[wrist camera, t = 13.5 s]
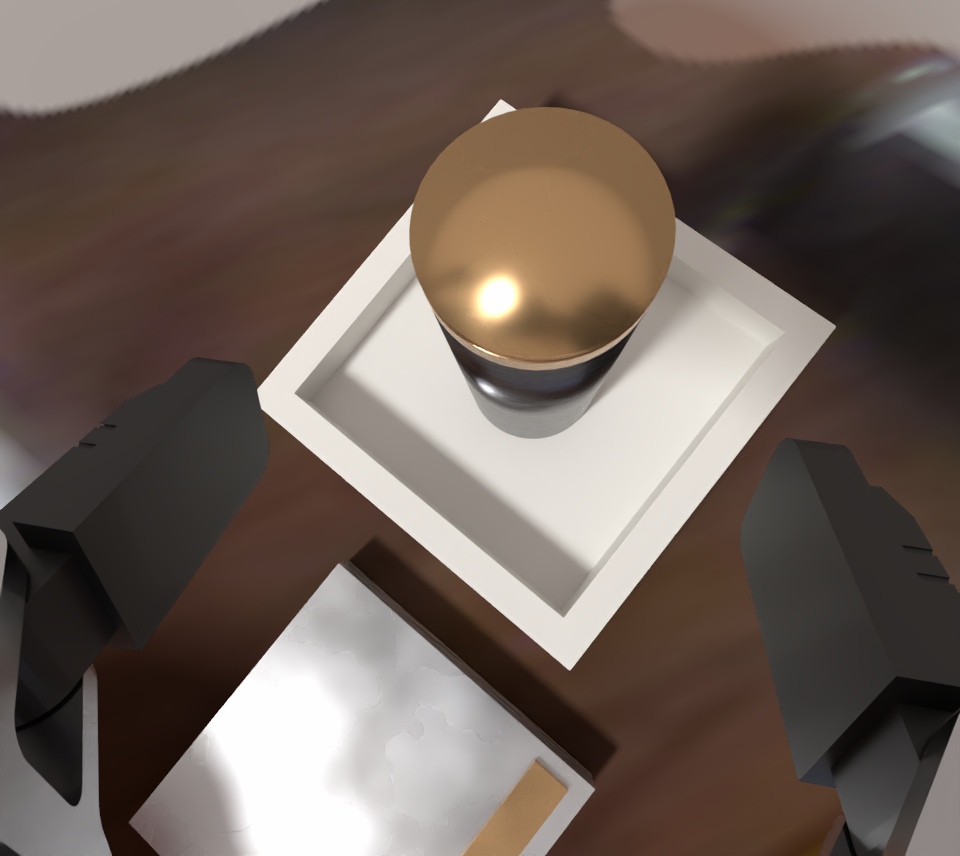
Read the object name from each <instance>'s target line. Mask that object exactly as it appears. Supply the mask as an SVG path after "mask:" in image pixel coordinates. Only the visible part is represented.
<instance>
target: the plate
mask: <svg viewBox="0 0 960 856" xmlns="http://www.w3.org/2000/svg"><path fill="white" fill-rule="evenodd" d="M594 790H595V786H594V782H593V777H592V773H590V772H589V771H588V770H587V769H586V768H585V767H584V766H582V765H581V764H580V763H579V762H578V761H577V760H576V759H575V758H573V757H572V756H571V755H570V754H569V753H568V752H567V751H565V750H564V749H563V748H562V747H561V746H560V745H559V744H557V743H556V742H555V741H554V740H553V739H552V738H551V737H549V736H548V735H547V734H546V733H545V732H544V731H543V730H541V729H540V728H539V727H538V726H537V725H536V724H535V723H534V722H532V721H531V720H530V719H529V718H528V717H527V716H526V715H524V714H523V713H522V712H521V711H520V710H519V709H518V708H516V707H515V706H514V705H513V704H512V703H511V702H510V701H508V700H507V699H506V698H505V697H504V696H503V695H502V694H500V693H499V692H498V691H497V690H496V689H495V688H494V687H493V686H491V685H490V684H489V683H488V682H487V681H486V680H485V679H483V678H482V677H481V676H480V675H479V674H478V673H477V672H475V671H474V670H473V669H472V668H471V667H470V666H469V665H467V664H466V663H465V662H464V661H463V660H462V659H461V658H459V657H458V656H457V655H456V654H455V653H454V652H453V651H451V650H450V649H449V648H448V647H447V646H446V645H445V644H444V643H442V642H441V641H440V640H439V639H438V638H437V637H436V636H434V635H433V634H432V633H431V632H430V631H429V630H428V629H426V628H425V627H424V626H423V625H422V624H421V623H420V622H418V621H417V620H416V619H415V618H414V617H413V616H412V615H410V614H409V613H408V612H407V611H406V610H405V609H404V608H403V607H401V606H400V605H399V604H398V603H397V602H396V601H395V600H393V599H392V598H391V597H390V596H389V595H388V594H387V593H385V592H384V591H383V590H382V589H381V588H380V587H379V586H377V585H376V584H375V583H374V582H373V581H372V580H371V579H369V578H368V577H367V576H366V575H365V574H364V573H363V572H362V571H360V570H359V569H358V568H357V567H356V566H355V565H354V564H352V563H351V562H350V561H349V560H348V561H344V562H341V563H339V564H338V565H337V566H336V567H335V568H334V570H333V571H332V572H331V573H330V575H329V576H328V577H327V578H326V580H325V581H324V582H323V583H322V585H321V586H320V587H319V588H318V589H317V591H316V592H315V593H314V594H313V596H312V597H311V598H310V599H309V601H308V602H307V603H306V604H305V605H304V607H303V608H302V609H301V610H300V612H299V613H298V614H297V615H296V617H295V618H294V619H293V620H292V622H291V623H290V624H289V625H288V626H287V628H286V629H285V630H284V631H283V633H282V634H281V635H280V636H279V638H278V639H277V640H276V641H275V642H274V644H273V645H272V646H271V647H270V649H269V650H268V651H267V652H266V654H265V655H264V656H263V657H262V659H261V660H260V661H259V662H258V663H257V665H256V666H255V667H254V668H253V670H252V671H251V672H250V673H249V675H248V676H247V677H246V678H245V679H244V681H243V682H242V683H241V684H240V686H239V687H238V688H237V689H236V691H235V692H234V693H233V694H232V696H231V697H230V698H229V699H228V700H227V702H226V703H225V704H224V705H223V707H222V708H221V709H220V710H219V712H218V713H217V714H216V715H215V716H214V718H213V719H212V720H211V721H210V723H209V724H208V725H207V726H206V728H205V729H204V730H203V731H202V733H201V734H200V735H199V736H198V737H197V739H196V740H195V741H194V742H193V744H192V745H191V746H190V747H189V749H188V750H187V751H186V752H185V753H184V755H183V756H182V757H181V758H180V760H179V761H178V762H177V763H176V765H175V766H174V767H173V768H172V770H171V771H170V772H169V773H168V774H167V776H166V777H165V778H164V779H163V781H162V782H161V783H160V784H159V786H158V787H157V788H156V789H155V790H154V792H153V793H152V794H151V795H150V797H149V798H148V799H147V800H146V802H145V803H144V804H143V805H142V806H141V808H140V809H139V810H138V811H137V813H136V814H135V815H134V816H133V818H132V819H131V820H130V821H129V823H130V825H131V826H132V827H133V828H134V829H135V830H136V831H137V832H138V833H139V834H140V835H141V836H142V837H143V838H144V839H145V840H146V841H147V842H148V844H149V845H150V846H151V847H152V848H153V849H154V850H155V851H156V852H157V853H158V854H159V855H160V856H545V855H546V853H547V852H548V851H549V850H550V848H551V847H552V846H553V844H554V843H555V842H556V840H557V839H558V838H559V836H560V835H561V834H562V832H563V831H564V830H565V829H566V827H567V826H568V825H569V823H570V822H571V821H572V819H573V818H574V817H575V815H576V814H577V813H578V811H579V810H580V809H581V807H582V806H583V805H584V804H585V802H586V801H587V800H588V798H589V797H590V796H591V794H592V793H593V792H594Z"/></svg>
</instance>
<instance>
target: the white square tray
mask: <svg viewBox="0 0 960 856" xmlns="http://www.w3.org/2000/svg"><path fill="white" fill-rule="evenodd" d="M515 110H516V109H514V108H513V107H511V106H510V105H508V104H507V103H506V102H504V101H503V100H501V99H500V101H499V102H498V103H497V104H496V105H495V107H494V108H493V109H492V110H491V111H490V113H489V114H488V115H487V116H486V117H485V118H484V120H483V121H482V122H484V121H486V120H488V119H490V118H492V117H495V116H498V115H501V114H504V113H507V112H510V111H515ZM413 204H414V203H413ZM413 204H412V206H411V207H410V208H409V209H408V210H407V212H406V213H405V214H404V215H403V216H402V218H401V219H400V220H399V221H398V222H397V224H396V225H395V226H394V227H393V228H392V230H391V231H390V232H389V233H388V234H387V235H386V237H385V238H384V239H383V240H382V241H381V243H380V244H379V245H378V246H377V247H376V249H375V250H374V251H373V252H372V253H371V255H370V256H369V257H368V258H367V259H366V261H365V262H364V263H363V264H362V265H361V267H360V268H359V269H358V270H357V271H356V272H355V274H354V275H353V276H352V277H351V278H350V280H349V281H348V282H347V283H346V284H345V286H344V287H343V288H342V289H341V290H340V292H339V293H338V294H337V295H336V296H335V298H334V299H333V300H332V301H331V302H330V304H329V305H328V306H327V307H326V308H325V309H324V311H323V312H322V313H321V314H320V315H319V317H318V318H317V319H316V320H315V321H314V323H313V324H312V325H311V326H310V327H309V329H308V330H307V331H306V332H305V333H304V335H303V336H302V337H301V338H300V339H299V341H298V342H297V343H296V344H295V345H294V347H293V348H292V349H291V350H290V351H289V352H288V354H287V355H286V356H285V357H284V358H283V360H282V361H281V362H280V363H279V364H278V366H277V367H276V368H275V369H274V370H273V372H272V373H271V374H270V375H269V376H268V378H267V379H266V380H265V381H264V382H263V384H262V385H261V386H260V387H259V388H258V389H257V392H258V396H259V401H260V405H261V409H263V410H264V411H265V412H266V413H267V414H268V415H270V416H271V417H272V418H273V419H274V420H275V421H277V422H278V423H279V424H280V425H281V426H283V427H284V428H285V429H286V430H287V431H288V432H290V433H291V434H292V435H293V436H294V437H295V438H297V439H298V440H299V441H300V442H301V443H303V444H304V445H305V446H306V447H307V448H308V449H310V450H311V451H312V452H313V453H314V454H315V455H317V456H318V457H319V458H320V459H321V460H323V461H324V462H325V463H326V464H327V465H328V466H330V467H331V468H332V469H333V470H334V471H335V472H337V473H338V474H339V475H340V476H341V477H343V478H344V479H345V480H346V481H347V482H348V483H350V484H351V485H352V486H353V487H354V488H355V489H357V490H358V491H359V492H360V493H361V494H363V495H364V496H365V497H366V498H367V499H368V500H370V501H371V502H372V503H373V504H374V505H375V506H377V507H378V508H379V509H380V510H381V511H383V512H384V513H385V514H386V515H387V516H388V517H390V518H391V519H392V520H393V521H394V522H395V523H397V524H398V525H399V526H400V527H401V528H403V529H404V530H405V531H406V532H407V533H408V534H410V535H411V536H412V537H413V538H414V539H415V540H417V541H418V542H419V543H420V544H421V545H422V546H424V547H425V548H426V549H427V550H428V551H430V552H431V553H432V554H433V555H434V556H435V557H437V558H438V559H439V560H440V561H441V562H442V563H444V564H445V565H446V566H447V567H448V568H450V569H451V570H452V571H453V572H454V573H455V574H457V575H458V576H459V577H460V578H461V579H462V580H464V581H465V582H466V583H467V584H468V585H470V586H471V587H472V588H473V589H474V590H475V591H477V592H478V593H479V594H480V595H481V596H482V597H484V598H485V599H486V600H487V601H488V602H490V603H491V604H492V605H493V606H494V607H495V608H497V609H498V610H499V611H500V612H501V613H502V614H504V615H505V616H506V617H507V618H508V619H510V620H511V621H512V622H513V623H514V624H515V625H517V626H518V627H519V628H520V629H521V630H522V631H524V632H525V633H526V634H527V635H528V636H530V637H531V638H532V639H533V640H534V641H535V642H537V643H538V644H539V645H540V646H541V647H542V648H544V649H545V650H546V651H547V652H548V653H550V654H551V655H552V656H553V657H554V658H555V659H557V660H558V661H559V662H560V663H561V664H562V665H564V666H565V667H566V668H567V669H568V670H571V669H572V668H573V666H574V665H575V664H576V662H577V661H578V660H579V659H580V657H581V656H582V655H583V653H584V652H585V651H586V649H587V648H588V647H589V646H590V644H591V643H592V642H593V640H594V639H595V638H596V637H597V635H598V634H599V633H600V631H601V630H602V629H603V627H604V626H605V625H606V624H607V622H608V621H609V620H610V618H611V617H612V616H613V615H614V613H615V612H616V611H617V609H618V608H619V607H620V606H621V604H622V603H623V602H624V600H625V599H626V598H627V596H628V595H629V594H630V593H631V591H632V590H633V589H634V587H635V586H636V585H637V584H638V582H639V581H640V580H641V578H642V577H643V576H644V575H645V573H646V572H647V571H648V569H649V568H650V567H651V565H652V564H653V563H654V562H655V560H656V559H657V558H658V556H659V555H660V554H661V553H662V551H663V550H664V549H665V547H666V546H667V545H668V544H669V542H670V541H671V540H672V538H673V537H674V536H675V534H676V533H677V532H678V531H679V529H680V528H681V527H682V525H683V524H684V523H685V522H686V520H687V519H688V518H689V516H690V515H691V514H692V512H693V511H694V510H695V509H696V507H697V506H698V505H699V503H700V502H701V501H702V500H703V498H704V497H705V496H706V494H707V493H708V492H709V491H710V489H711V488H712V487H713V485H714V484H715V483H716V481H717V480H718V479H719V478H720V476H721V475H722V474H723V472H724V471H725V470H726V469H727V467H728V466H729V465H730V463H731V462H732V461H733V460H734V458H735V457H736V456H737V454H738V453H739V452H740V450H741V449H742V448H743V447H744V445H745V444H746V443H747V441H748V440H749V439H750V438H751V436H752V435H753V434H754V432H755V431H756V430H757V428H758V427H759V426H760V425H761V423H762V422H763V421H764V419H765V418H766V417H767V416H768V414H769V413H770V412H771V410H772V409H773V408H774V407H775V405H776V404H777V403H778V401H779V400H780V399H781V397H782V396H783V395H784V394H785V392H786V391H787V390H788V388H789V387H790V386H791V385H792V383H793V382H794V381H795V379H796V378H797V377H798V376H799V374H800V373H801V372H802V370H803V369H804V368H805V366H806V365H807V364H808V363H809V361H810V360H811V359H812V357H813V356H814V355H815V354H816V352H817V351H818V350H819V348H820V347H821V346H822V344H823V343H824V342H825V341H826V339H827V338H828V337H829V335H830V334H831V333H832V332H833V330H834V329H835V328H836V326H835V325H834V324H832V323H831V322H829V321H828V320H826V319H825V318H823V317H822V316H820V315H819V314H817V313H816V312H814V311H813V310H811V309H810V308H808V307H807V306H806V305H804V304H803V303H801V302H800V301H798V300H797V299H795V298H794V297H792V296H791V295H789V294H788V293H786V292H785V291H783V290H782V289H780V288H779V287H777V286H776V285H774V284H773V283H772V282H770V281H769V280H767V279H766V278H764V277H763V276H761V275H760V274H758V273H757V272H755V271H754V270H752V269H751V268H749V267H748V266H746V265H745V264H743V263H742V262H740V261H739V260H738V259H736V258H735V257H733V256H732V255H730V254H729V253H727V252H726V251H724V250H723V249H721V248H720V247H718V246H717V245H715V244H714V243H712V242H711V241H709V240H708V239H706V238H705V237H704V236H702V235H701V234H699V233H698V232H696V231H695V230H693V229H692V228H690V227H689V226H687V225H686V224H684V223H683V222H681V221H680V220H678V219H677V218H675V223H676V234H675V246H674V251H673V256H672V261H671V264H670V267H669V269H668V272H667V275H666V278H665V279H664V281H663V283H662V285H661V287H660V289H659V291H658V293H657V295H656V296H655V298H654V299H653V301H652V303H651V304H650V306H649V308H648V309H647V311H646V313H645V314H644V316H643V318H642V319H641V321H640V322H639V324H638V326H637V327H636V329H635V331H634V332H633V334H632V336H631V337H630V339H629V341H628V342H627V344H626V345H625V347H624V349H623V350H622V352H621V354H620V355H619V357H618V359H617V360H616V362H615V364H614V365H613V367H612V368H611V370H610V372H609V373H608V375H607V377H606V378H605V380H604V382H603V383H602V385H601V386H600V388H599V390H598V391H597V393H596V395H595V396H594V398H593V400H592V401H591V403H590V405H589V406H588V408H587V409H586V411H585V412H584V414H583V415H582V416H581V417H580V418H579V420H578V421H577V422H575V423H574V424H573V425H572V426H571V427H569V428H568V429H566V430H564V431H563V432H560V433H558V434H556V435H553V436H550V437H546V438H540V439H527V438H520V437H516V436H513V435H510V434H507V433H505V432H503V431H502V430H500V429H498V428H497V427H495V426H494V425H493V424H492V423H491V422H490V421H488V420H487V418H486V417H485V416H484V415H483V414H482V412H481V411H480V409H479V407H478V405H477V403H476V401H475V399H474V397H473V395H472V393H471V391H470V389H469V387H468V384H467V382H466V380H465V378H464V376H463V374H462V372H461V370H460V368H459V365H458V363H457V361H456V359H455V357H454V355H453V353H452V351H451V349H450V346H449V344H448V342H447V340H446V338H445V336H444V334H443V332H442V330H441V327H440V325H439V323H438V321H437V319H436V317H435V315H434V313H433V311H432V309H431V306H430V304H429V302H428V300H427V298H426V296H425V294H424V292H423V289H422V287H421V285H420V283H419V281H418V279H417V276H416V273H415V270H414V266H413V263H412V258H411V252H410V245H409V227H410V219H411V212H412V208H413Z"/></svg>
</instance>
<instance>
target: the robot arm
mask: <svg viewBox="0 0 960 856" xmlns="http://www.w3.org/2000/svg"><path fill="white" fill-rule="evenodd" d="M100 424H101V426H100V428H94V429H93V430H92V431H91V432H90V433H89V434H87V435H86V436H85V437H84V438H83V439H82V440H81V441H79V446H78V447H72V448H71V449H70V450H69V451H68V452H67V453H66V454H64V455H63V456H62V457H61V458H60V459H59V460H58V461H56V462H55V463H54V464H53V465H52V466H51V467H50V468H48V469H47V470H46V471H45V472H44V473H43V474H41V475H40V476H39V477H38V478H37V479H36V480H35V481H33V482H32V483H31V484H30V485H29V486H28V487H27V488H25V489H24V490H23V491H22V492H21V493H20V494H18V495H17V496H16V497H15V498H14V499H13V500H12V501H10V502H9V503H8V504H7V505H6V506H5V507H4V508H2V509H1V510H0V856H112V855H111V851H110V848H109V845H108V843H107V840H106V838H105V835H104V832H103V829H102V825H101V820H100V813H99V786H98V710H97V675H96V671H95V668H94V666H93V665H92V663H93V661H94V660H95V659H96V657H97V656H98V655H99V653H100V652H101V651H102V649H103V648H104V647H105V645H107V646H112V647H117V648H123V649H128V650H133V651H138V652H141V651H142V649H143V648H144V646H145V645H146V643H147V642H148V641H149V639H150V638H151V636H152V635H153V633H154V632H155V630H156V629H157V628H158V626H159V625H160V623H161V622H162V620H163V619H164V617H165V616H166V615H167V613H168V612H169V610H170V609H171V607H172V606H173V604H174V603H175V602H176V600H177V599H178V597H179V596H180V594H181V593H182V591H183V590H184V589H185V587H186V586H187V584H188V583H189V581H190V580H191V578H192V577H193V576H194V574H195V573H196V571H197V570H198V568H199V567H200V565H201V564H202V563H203V561H204V560H205V558H206V557H207V555H208V554H209V552H210V551H211V550H212V548H213V547H214V545H215V544H216V542H217V541H218V539H219V538H220V537H221V535H222V534H223V532H224V531H225V529H226V528H227V526H228V525H229V524H230V522H231V521H232V519H233V518H234V516H235V515H236V513H237V512H238V511H239V509H240V508H241V506H242V505H243V503H244V502H245V500H246V499H247V498H248V496H249V495H250V493H251V492H252V490H253V489H254V487H255V486H256V485H257V483H258V482H259V480H260V479H261V477H262V475H263V473H264V471H265V468H266V465H267V461H268V455H269V441H268V436H267V432H266V427H265V423H264V418H263V414H262V410H261V405H260V401H259V396H258V392H257V388H256V383H255V379H254V375H253V373H252V371H251V369H250V368H249V367H248V366H247V365H246V364H243V363H236V362H229V361H221V360H214V359H206V358H199V357H198V358H193V359H191V360H190V361H188V362H187V363H186V364H185V365H184V366H183V367H182V368H181V369H179V370H178V371H177V372H176V373H175V374H174V375H173V376H172V377H171V378H169V379H168V380H167V381H166V382H165V383H164V384H163V385H162V384H159V385H157V386H155V387H153V388H151V389H149V390H147V391H145V392H143V393H141V394H139V395H137V396H135V397H133V398H131V399H129V400H127V401H125V402H124V403H123V404H122V405H121V406H120V407H118V408H117V409H116V410H115V411H114V412H113V413H112V414H110V415H109V416H108V417H107V418H106V419H105V420H104V421H102V422H101V423H100ZM932 551H933V549H932V547H931V545H930V544H929V542H928V540H927V539H926V537H925V535H924V534H923V532H922V530H921V529H920V527H919V525H918V523H917V522H916V520H915V518H914V517H913V516H912V515H911V514H910V513H909V512H908V511H907V510H906V509H904V508H903V507H902V506H901V505H900V504H899V503H898V502H897V501H896V500H895V499H894V498H892V497H891V496H890V495H889V494H888V493H887V492H886V491H885V490H884V489H883V488H882V487H876V486H869V484H868V482H867V480H866V478H865V477H864V475H863V473H862V471H861V469H860V467H859V466H858V464H857V462H856V460H855V458H854V456H853V454H852V453H851V451H850V450H849V449H848V448H847V447H845V446H842V445H835V444H827V443H820V442H813V441H805V440H798V439H790V438H786V439H784V440H782V441H781V442H780V443H779V445H778V446H777V448H776V449H775V451H774V453H773V455H772V458H771V460H770V462H769V464H768V466H767V468H766V470H765V472H764V475H763V477H762V479H761V481H760V483H759V485H758V487H757V489H756V491H755V494H754V496H753V498H752V500H751V502H750V504H749V506H748V508H747V511H746V513H745V516H744V519H743V523H742V528H741V553H742V558H743V562H744V566H745V570H746V574H747V578H748V582H749V586H750V590H751V594H752V598H753V602H754V606H755V610H756V614H757V618H758V622H759V626H760V630H761V634H762V638H763V642H764V646H765V650H766V654H767V658H768V662H769V666H770V670H771V674H772V678H773V682H774V686H775V690H776V694H777V698H778V702H779V706H780V710H781V714H782V718H783V722H784V726H785V730H786V734H787V738H788V742H789V746H790V750H791V754H792V758H793V762H794V766H795V770H796V774H797V778H798V781H802V782H807V783H812V784H817V785H823V786H828V787H833V788H837V792H838V795H839V798H840V802H841V805H842V809H843V812H844V813H842V814H841V815H840V816H839V817H838V818H837V819H836V821H835V822H834V824H833V825H832V827H831V830H830V832H829V834H828V836H827V838H826V840H825V842H824V844H823V846H822V848H821V850H820V852H819V854H818V856H960V594H959V593H958V591H957V589H956V588H955V586H954V585H951V584H949V582H948V580H949V578H950V577H949V576H948V574H947V572H946V571H945V569H944V567H943V566H942V564H941V562H940V561H939V559H938V557H937V556H933V555H932Z"/></svg>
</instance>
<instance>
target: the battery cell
mask: <svg viewBox="0 0 960 856" xmlns="http://www.w3.org/2000/svg"><path fill="white" fill-rule="evenodd" d="M675 234H676V223H675V211H674V206H673V202H672V198H671V194H670V191H669V189H668V186H667V184H666V181H665V179H664V177H663V175H662V173H661V172H660V170H659V168H658V166H657V164H656V163H655V162H654V160H653V159H652V158H651V157H650V155H649V154H648V153H647V151H646V150H645V149H644V148H643V147H642V146H641V145H640V144H639V143H638V142H637V141H636V140H635V139H633V138H632V137H631V136H629V135H628V134H627V133H626V132H624V131H623V130H622V129H620V128H618V127H616V126H615V125H613V124H611V123H610V122H608V121H606V120H603V119H601V118H599V117H596V116H594V115H591V114H588V113H584V112H581V111H577V110H572V109H565V108H558V107H536V108H525V109H520V110H515V111H510V112H507V113H504V114H501V115H498V116H495V117H492V118H490V119H488V120H486V121H484V122H481V123H479V124H477V125H476V126H474V127H473V128H471V129H469V130H468V131H466V132H465V133H463V134H462V135H461V136H459V137H458V138H457V139H456V140H454V141H453V142H452V143H451V144H450V145H449V146H448V147H447V148H446V149H445V150H444V151H443V152H442V153H441V154H440V155H439V156H438V158H437V159H436V160H435V162H434V163H433V164H432V166H431V167H430V168H429V170H428V172H427V174H426V175H425V177H424V179H423V181H422V182H421V185H420V187H419V190H418V192H417V195H416V197H415V200H414V204H413V208H412V212H411V219H410V227H409V245H410V252H411V258H412V263H413V266H414V270H415V273H416V276H417V279H418V281H419V283H420V285H421V287H422V289H423V292H424V294H425V296H426V298H427V300H428V302H429V304H430V306H431V309H432V311H433V313H434V315H435V317H436V319H437V321H438V323H439V325H440V327H441V330H442V332H443V334H444V336H445V338H446V340H447V342H448V344H449V346H450V349H451V351H452V353H453V355H454V357H455V359H456V361H457V363H458V365H459V368H460V370H461V372H462V374H463V376H464V378H465V380H466V382H467V384H468V387H469V389H470V391H471V393H472V395H473V397H474V399H475V401H476V403H477V405H478V407H479V409H480V411H481V412H482V414H483V415H484V416H485V417H486V418H487V420H488V421H490V422H491V423H492V424H493V425H494V426H495V427H497V428H498V429H500V430H502V431H503V432H505V433H507V434H510V435H513V436H516V437H520V438H527V439H540V438H546V437H550V436H553V435H556V434H558V433H560V432H563V431H564V430H566V429H568V428H569V427H571V426H572V425H573V424H574V423H575V422H577V421H578V420H579V418H580V417H581V416H582V415H583V414H584V412H585V411H586V409H587V408H588V406H589V405H590V403H591V401H592V400H593V398H594V396H595V395H596V393H597V391H598V390H599V388H600V386H601V385H602V383H603V382H604V380H605V378H606V377H607V375H608V373H609V372H610V370H611V368H612V367H613V365H614V364H615V362H616V360H617V359H618V357H619V355H620V354H621V352H622V350H623V349H624V347H625V345H626V344H627V342H628V341H629V339H630V337H631V336H632V334H633V332H634V331H635V329H636V327H637V326H638V324H639V322H640V321H641V319H642V318H643V316H644V314H645V313H646V311H647V309H648V308H649V306H650V304H651V303H652V301H653V299H654V298H655V296H656V295H657V293H658V291H659V289H660V287H661V285H662V283H663V281H664V279H665V278H666V275H667V272H668V269H669V267H670V264H671V261H672V256H673V251H674V246H675Z"/></svg>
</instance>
